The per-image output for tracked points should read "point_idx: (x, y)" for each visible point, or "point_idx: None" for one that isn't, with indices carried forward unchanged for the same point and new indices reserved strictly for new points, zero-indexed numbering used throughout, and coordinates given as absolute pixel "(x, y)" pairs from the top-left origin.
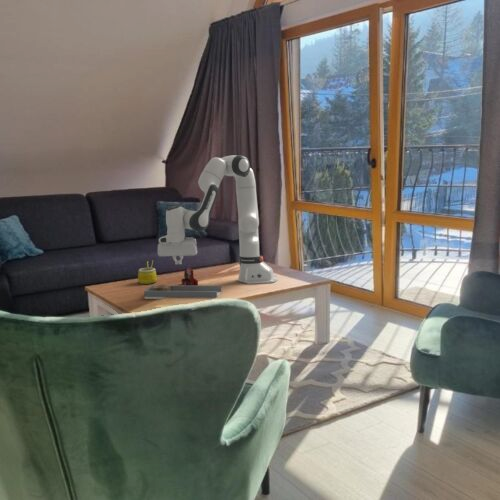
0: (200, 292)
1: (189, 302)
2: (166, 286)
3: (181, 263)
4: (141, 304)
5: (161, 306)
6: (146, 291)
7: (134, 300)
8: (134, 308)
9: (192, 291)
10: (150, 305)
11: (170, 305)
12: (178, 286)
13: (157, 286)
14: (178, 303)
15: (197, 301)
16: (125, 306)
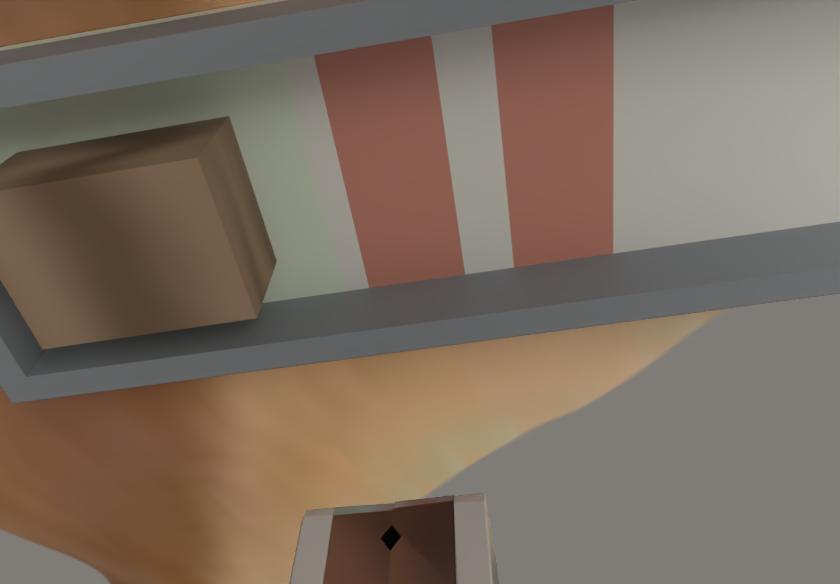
0: (761, 295)
1: (616, 369)
2: (193, 247)
3: (487, 507)
4: (177, 487)
5: (393, 502)
6: (43, 397)
7: (3, 404)
8: (201, 568)
9: (653, 316)
10: (278, 496)
11: (461, 470)
12: (307, 55)
13: (56, 272)
14: (513, 413)
15: (697, 326)
16: (86, 545)
